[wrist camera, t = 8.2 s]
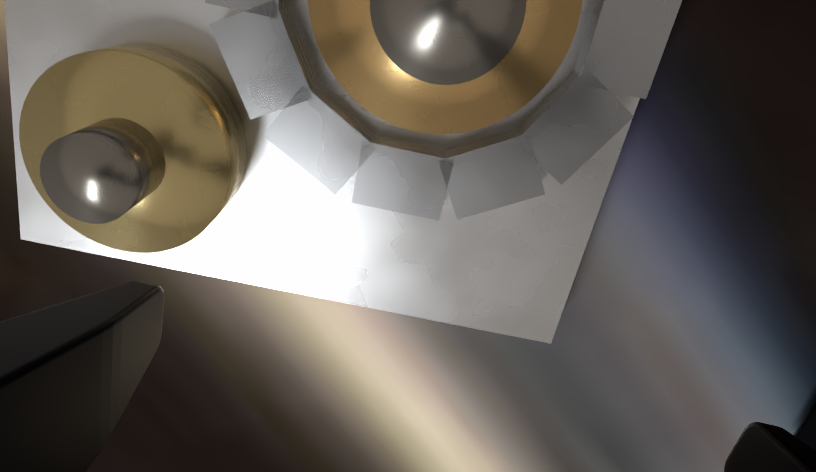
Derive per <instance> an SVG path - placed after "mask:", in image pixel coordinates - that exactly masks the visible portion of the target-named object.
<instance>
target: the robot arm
mask: <svg viewBox="0 0 816 472" xmlns="http://www.w3.org/2000/svg"><path fill="white" fill-rule="evenodd" d="M163 307H164V291H163V289H162V288H161V287H160V286H158V285H154V284H149V283H145V282H141V281H130V282H127V283H124V284H121V285H118V286H114V287H111V288H108V289H105V290H101V291H98V292H95V293H92V294H89V295H85V296H82V297H79V298H76V299H72V300H69V301H66V302H63V303H59V304H56V305H53V306H50V307H46V308H43V309H40V310H37V311H34V312H30V313H27V314H24V315H21V316H17V317H14V318H11V319H8V320H4V321H1V322H0V472H86V471H87V469H88V468H89V467H90V465H91V464H92V462H93V461H94V459H95V458H96V457H97V455H98V454H99V452H100V451H101V449H102V448H103V446H104V445H105V443H106V442H107V440H108V438H109V437H110V435H111V433H112V432H113V430H114V428H115V426H116V425H117V423H118V421H119V419H120V417H121V415H122V414H123V412H124V410H125V408H126V406H127V404H128V402H129V401H130V399H131V397H132V395H133V393H134V391H135V389H136V388H137V386H138V384H139V382H140V380H141V378H142V376H143V374H144V373H145V371H146V369H147V367H148V365H149V363H150V361H151V360H152V358H153V356H154V354H155V352H156V350H157V348H158V345H159V342H160V339H161V333H162V320H163ZM724 472H816V405H815V406H814V408H813V410H812V411H811V413H810V414H809V416H808V418H807V419H806V421H805V423H804V424H803V426H802V427H801V429H800V431H799V432H798V434H797V436H796V437H795V436H793V435H792V434H790V433H789V432H788V431H786V430H785V429H783V428H780V427H778V426H774V425H769V424H765V423H760V422H754V423H751V424H749V425H748V426H747V427H746V428H745V430H744V431H743V433H742V435H741V436H740V438H739V440H738V441H737V443H736V445H735V446H734V448H733V450H732V451H731V453H730V455H729V456H728V458H727V460H726V463H725V467H724Z"/></svg>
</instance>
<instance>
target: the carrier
mask: <svg viewBox="0 0 816 472" xmlns="http://www.w3.org/2000/svg"><path fill="white" fill-rule="evenodd" d="M681 2H682V0H583V1H582V10H581V14H580V18H579V22H578V26H577V30H576V32H575V35H574V38H573V41H572V43H571V46H570V48H569V50H568V52H567V54H566V56H565V58H564V60H563V62H562V64H561V65H560V67H559V68H558V69H557V71H556V72H555V74H554V75H553V77H552V78H551V80H550V81H549V82H548V83H547V84H546V85H545V87H544V88H543V89H542V90H541V91H540V92H539V93H538V94H537V95H536V96H535V97H534V98H533V99H532V100H530V101H529V102H528V103H527V104H526V105H525V106H523V107H522V108H520V109H519V110H518V111H516V112H515V113H513V114H512V115H510V116H508V117H506V118H504V119H502V120H501V121H499V122H497V123H494V124H492V125H489V126H486V127H484V128H481V129H477V130H473V131H469V132H465V133H457V134H427V133H420V132H414V131H411V130H407V129H404V128H400V127H398V126H395V125H393V124H391V123H388V122H386V121H384V120H382V119H380V118H379V117H377V116H375V115H374V114H372V113H370V112H369V111H368V110H366V109H365V108H364V107H362V106H361V105H360V104H358V103H357V102H356V101H355V100H354V99H353V98H352V97H351V96H350V95H349V94H348V93H347V92H346V91H345V90H344V89H343V88H342V86H341V85H340V84H339V82H338V81H337V80H336V79H335V77H334V76H333V74H332V73H331V71H330V69H329V68H328V66H327V64H326V63H325V61H324V59H323V57H322V54H321V52H320V50H319V48H318V46H317V43H316V40H315V36H314V33H313V30H312V27H311V22H310V16H309V10H308V0H4V5H5V19H6V33H7V48H8V62H9V76H10V91H11V105H12V119H13V134H14V148H15V162H16V176H17V191H18V205H19V219H20V234H21V239H23V240H28V241H33V242H38V243H43V244H48V245H53V246H58V247H63V248H68V249H73V250H79V251H84V252H89V253H94V254H99V255H104V256H109V257H114V258H119V259H124V260H129V261H134V262H139V263H145V264H150V265H155V266H160V267H165V268H170V269H175V270H180V271H185V272H190V273H195V274H200V275H205V276H211V277H216V278H221V279H226V280H231V281H236V282H241V283H246V284H251V285H256V286H261V287H266V288H271V289H276V290H282V291H287V292H292V293H297V294H302V295H307V296H312V297H317V298H322V299H327V300H332V301H337V302H342V303H348V304H353V305H358V306H363V307H368V308H373V309H378V310H383V311H388V312H393V313H398V314H403V315H408V316H414V317H419V318H424V319H429V320H434V321H439V322H444V323H449V324H454V325H459V326H464V327H469V328H474V329H480V330H485V331H490V332H495V333H500V334H505V335H510V336H515V337H520V338H525V339H530V340H535V341H540V342H546V343H551V342H552V339H553V336H554V333H555V331H556V328H557V325H558V322H559V320H560V317H561V314H562V311H563V309H564V306H565V303H566V300H567V298H568V295H569V292H570V289H571V287H572V284H573V281H574V278H575V276H576V273H577V270H578V267H579V265H580V262H581V259H582V256H583V254H584V251H585V248H586V245H587V242H588V240H589V237H590V234H591V231H592V229H593V226H594V223H595V220H596V218H597V215H598V212H599V209H600V207H601V204H602V201H603V198H604V196H605V193H606V190H607V187H608V185H609V182H610V179H611V176H612V174H613V171H614V168H615V165H616V163H617V160H618V157H619V154H620V151H621V149H622V146H623V143H624V140H625V138H626V135H627V132H628V129H629V127H630V124H631V121H632V118H633V117H634V113H635V110H636V107H637V105H638V102H639V99H640V98H643V99H646V98H647V95H648V92H649V89H650V87H651V84H652V81H653V78H654V76H655V73H656V70H657V68H658V65H659V62H660V59H661V57H662V54H663V51H664V49H665V46H666V43H667V40H668V38H669V35H670V32H671V29H672V27H673V24H674V21H675V19H676V16H677V13H678V10H679V8H680V5H681Z"/></svg>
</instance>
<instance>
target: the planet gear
mask: <svg viewBox="0 0 816 472" xmlns="http://www.w3.org/2000/svg"><path fill="white" fill-rule="evenodd" d="M582 1H583V0H308V10H309V16H310V22H311V27H312V30H313V33H314V36H315V40H316V43H317V46H318V48H319V50H320V52H321V54H322V57H323V59H324V61H325V63H326V64H327V66H328V68H329V69H330V71H331V73H332V74H333V76H334V77H335V79H336V80H337V81H338V82H339V84H340V85H341V86H342V88H343V89H344V90H345V91H346V92H347V93H348V94H349V95H350V96H351V97H352V98H353V99H354V100H355V101H356V102H357V103H358V104H360V105H361V106H362V107H364V108H365V109H366V110H368V111H369V112H370V113H372V114H374V115H375V116H377V117H379V118H380V119H382V120H384V121H386V122H388V123H391V124H393V125H395V126H398V127H400V128H404V129H407V130H411V131H414V132H420V133H427V134H457V133H465V132H469V131H473V130H477V129H481V128H484V127H486V126H489V125H492V124H494V123H497V122H499V121H501V120H502V119H504V118H506V117H508V116H510V115H512V114H513V113H515V112H516V111H518V110H519V109H520V108H522V107H523V106H525V105H526V104H527V103H528V102H529V101H530V100H532V99H533V98H534V97H535V96H536V95H537V94H538V93H539V92H540V91H541V90H542V89H543V88H544V87H545V85H546V84H547V83H548V82H549V81H550V80H551V78H552V77H553V75H554V74H555V72H556V71H557V69H558V68H559V67H560V65H561V64H562V62H563V60H564V58H565V56H566V54H567V52H568V50H569V48H570V46H571V43H572V41H573V38H574V35H575V32H576V30H577V26H578V22H579V18H580V14H581V10H582Z"/></svg>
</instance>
